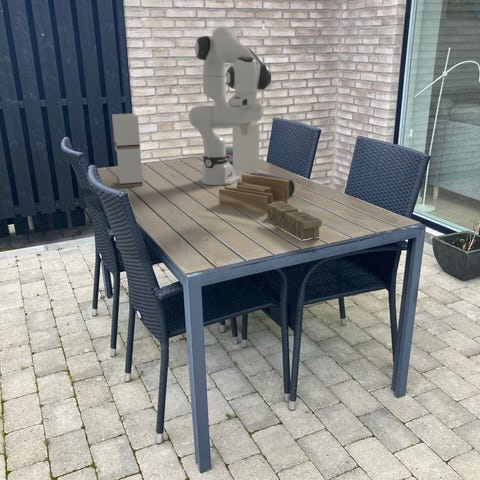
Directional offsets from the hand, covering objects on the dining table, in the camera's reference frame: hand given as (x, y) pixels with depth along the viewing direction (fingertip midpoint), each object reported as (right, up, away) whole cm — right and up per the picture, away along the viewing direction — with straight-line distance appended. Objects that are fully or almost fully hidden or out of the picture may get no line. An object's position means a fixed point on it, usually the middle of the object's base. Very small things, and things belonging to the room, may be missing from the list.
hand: (245, 134), depth 214 cm
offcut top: (+4, -23, +15) cm, 27 cm away
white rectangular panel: (0, -15, +5) cm, 16 cm away
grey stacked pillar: (-59, -15, +55) cm, 82 cm away
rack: (+4, -29, +17) cm, 34 cm away
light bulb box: (-5, +2, +100) cm, 101 cm away
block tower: (+18, -40, -11) cm, 45 cm away
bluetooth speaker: (+12, -23, +34) cm, 43 cm away
